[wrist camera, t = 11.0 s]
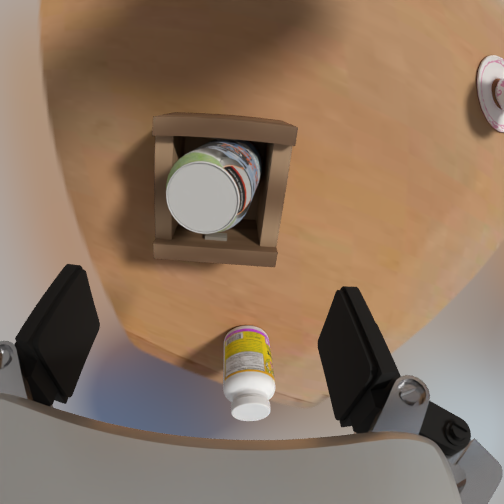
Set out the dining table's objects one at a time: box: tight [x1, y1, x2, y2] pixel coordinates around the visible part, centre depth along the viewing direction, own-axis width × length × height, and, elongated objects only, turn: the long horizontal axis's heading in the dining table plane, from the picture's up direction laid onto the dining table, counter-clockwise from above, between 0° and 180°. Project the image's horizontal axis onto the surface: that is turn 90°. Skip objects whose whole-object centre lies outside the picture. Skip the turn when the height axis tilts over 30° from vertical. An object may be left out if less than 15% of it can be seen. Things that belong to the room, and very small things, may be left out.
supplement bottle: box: [223, 326, 275, 421], centre depth 36 cm, size 7×7×13 cm
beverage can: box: [166, 139, 264, 234], centre depth 23 cm, size 6×7×12 cm
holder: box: [152, 113, 298, 267], centre depth 26 cm, size 12×11×8 cm
